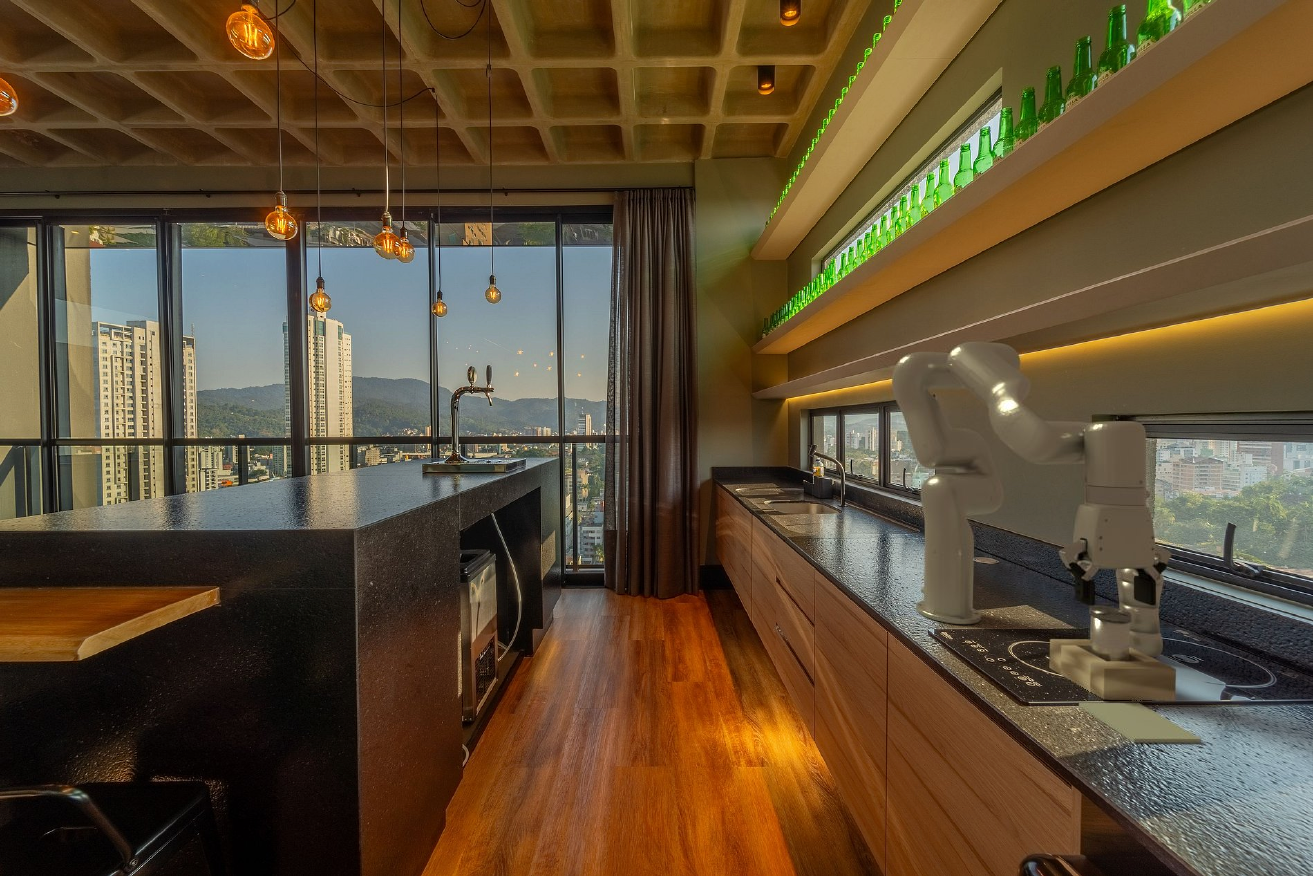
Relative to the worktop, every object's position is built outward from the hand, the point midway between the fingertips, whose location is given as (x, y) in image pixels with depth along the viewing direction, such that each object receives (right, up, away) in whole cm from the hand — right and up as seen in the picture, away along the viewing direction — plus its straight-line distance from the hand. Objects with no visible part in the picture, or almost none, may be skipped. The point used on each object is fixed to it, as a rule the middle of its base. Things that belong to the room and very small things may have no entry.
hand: (1114, 602), depth 85 cm
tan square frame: (0, -14, +1) cm, 14 cm away
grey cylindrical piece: (0, -14, +1) cm, 14 cm away
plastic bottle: (+15, -14, +12) cm, 23 cm away
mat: (-6, -14, -11) cm, 18 cm away
